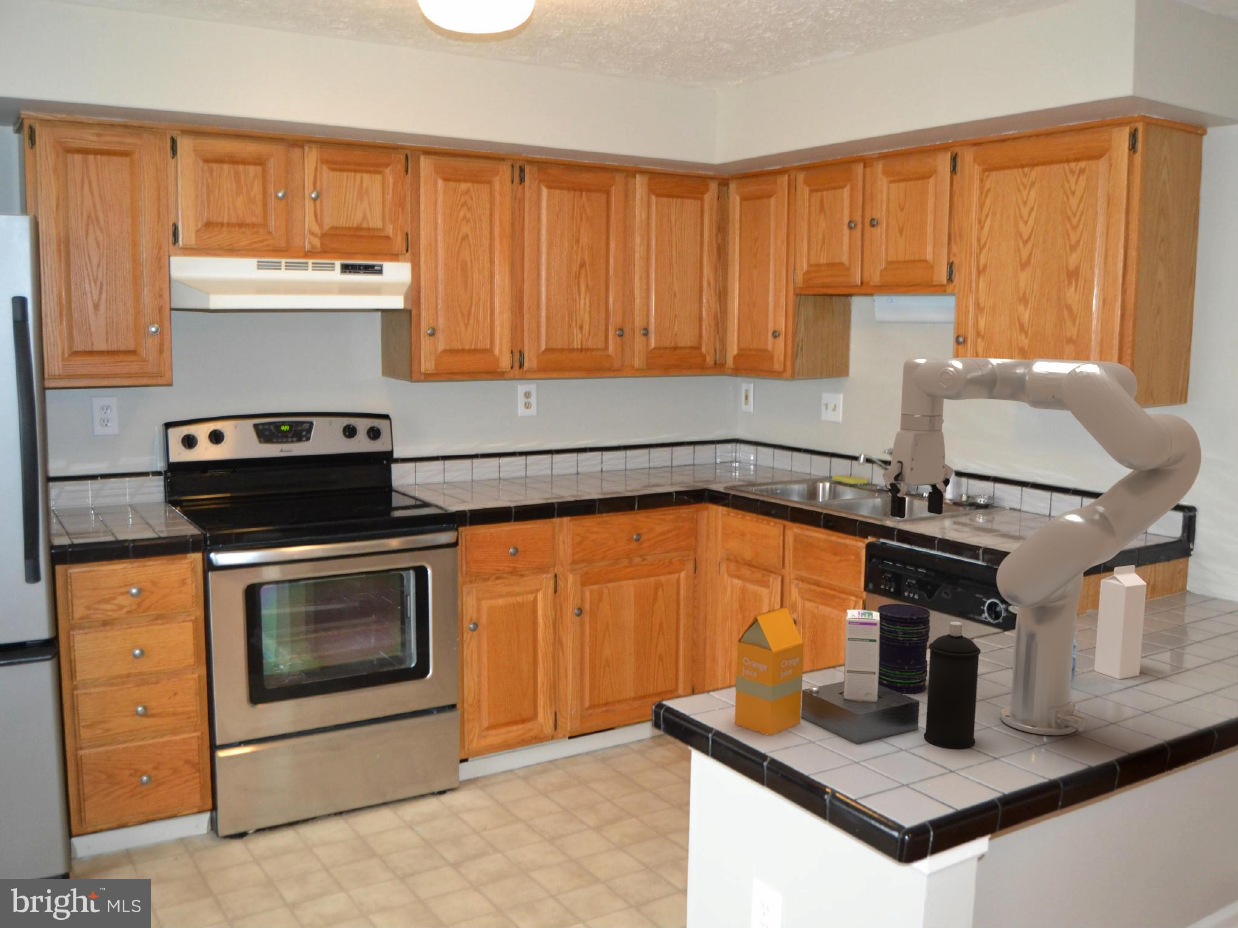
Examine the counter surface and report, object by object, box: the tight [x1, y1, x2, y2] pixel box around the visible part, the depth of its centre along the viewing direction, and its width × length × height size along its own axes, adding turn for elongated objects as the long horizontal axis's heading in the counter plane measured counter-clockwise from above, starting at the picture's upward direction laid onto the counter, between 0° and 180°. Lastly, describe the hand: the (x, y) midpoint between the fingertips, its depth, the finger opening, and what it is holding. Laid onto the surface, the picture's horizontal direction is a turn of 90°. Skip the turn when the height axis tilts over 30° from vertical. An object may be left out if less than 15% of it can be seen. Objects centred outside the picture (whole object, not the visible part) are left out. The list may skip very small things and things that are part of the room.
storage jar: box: [877, 603, 931, 695], centre depth 206 cm, size 10×10×15 cm
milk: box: [1093, 564, 1148, 680], centre depth 216 cm, size 6×6×22 cm
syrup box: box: [843, 609, 880, 702], centre depth 186 cm, size 6×6×14 cm
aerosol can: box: [923, 621, 981, 750], centre depth 179 cm, size 8×8×20 cm
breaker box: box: [800, 680, 921, 745], centre depth 187 cm, size 14×14×6 cm
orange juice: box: [734, 606, 804, 737], centre depth 185 cm, size 8×9×20 cm
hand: (916, 515), depth 203 cm, fingers open, 9 cm apart
